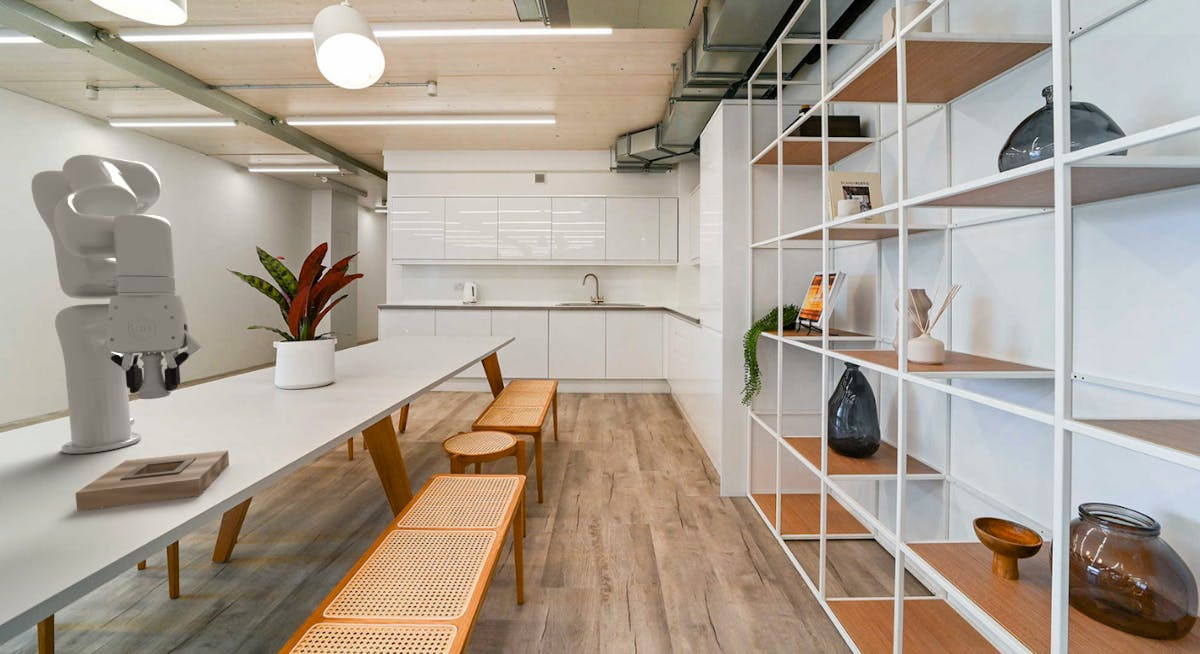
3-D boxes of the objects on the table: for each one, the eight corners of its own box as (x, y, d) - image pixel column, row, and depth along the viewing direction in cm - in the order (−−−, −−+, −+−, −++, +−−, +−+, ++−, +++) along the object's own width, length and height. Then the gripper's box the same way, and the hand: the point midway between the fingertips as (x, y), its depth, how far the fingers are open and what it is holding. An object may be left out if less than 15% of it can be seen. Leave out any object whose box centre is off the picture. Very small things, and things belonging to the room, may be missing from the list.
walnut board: (127, 475, 95) (125, 458, 95) (229, 464, 101) (228, 448, 101) (77, 511, 80) (75, 491, 80) (199, 495, 86) (198, 477, 86)
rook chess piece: (151, 400, 87) (148, 353, 86) (130, 399, 87) (127, 353, 87) (178, 394, 91) (175, 350, 90) (158, 393, 92) (155, 350, 91)
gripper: (70, 287, 81) (80, 398, 83) (198, 287, 87) (204, 390, 89) (96, 287, 88) (104, 390, 89) (212, 287, 94) (218, 383, 96)
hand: (154, 389), depth 89 cm, fingers closed on rook chess piece, 4 cm apart
